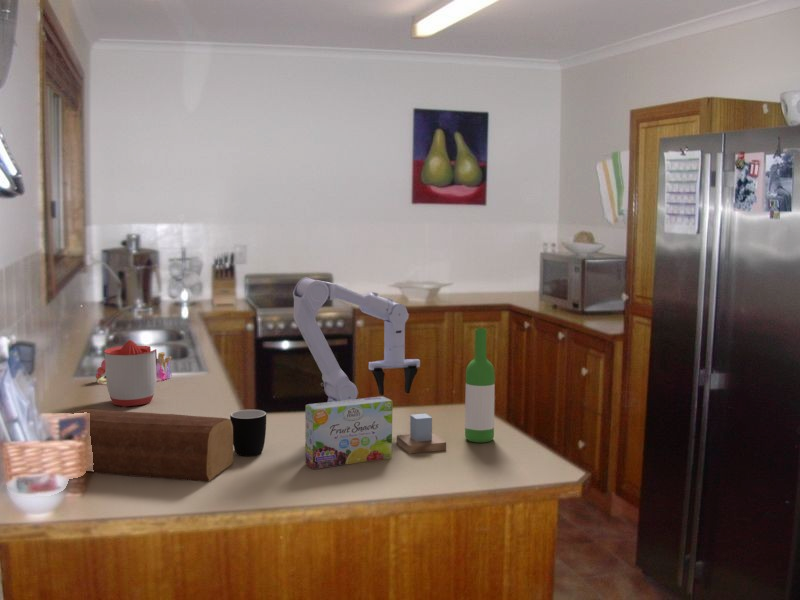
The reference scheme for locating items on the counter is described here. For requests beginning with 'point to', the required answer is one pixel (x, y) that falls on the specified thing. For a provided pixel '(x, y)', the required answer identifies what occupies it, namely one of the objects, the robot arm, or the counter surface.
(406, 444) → the base board
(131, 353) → the citrus juicer
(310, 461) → the snack box
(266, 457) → the counter surface
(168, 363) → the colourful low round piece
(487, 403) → the wine bottle
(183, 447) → the bread
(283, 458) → the counter surface
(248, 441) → the mug
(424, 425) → the block
